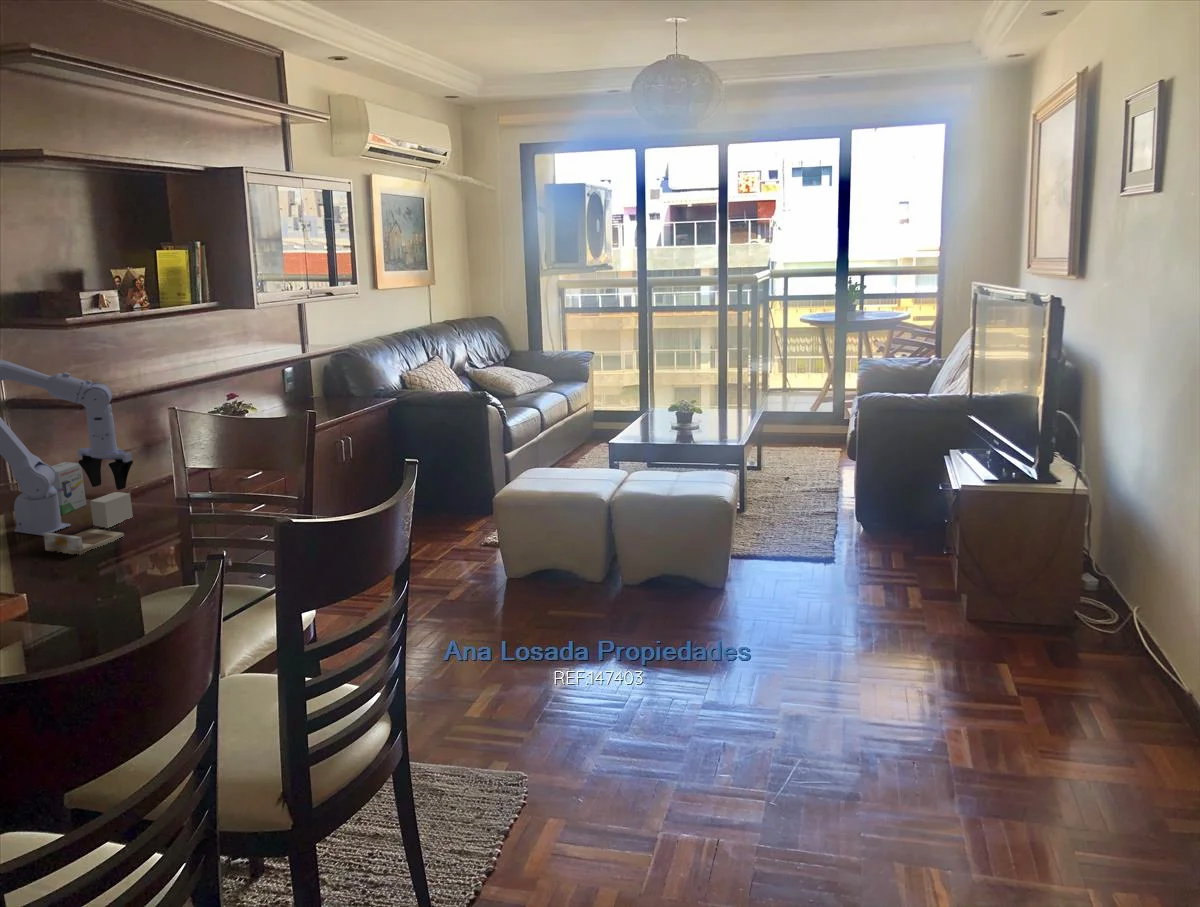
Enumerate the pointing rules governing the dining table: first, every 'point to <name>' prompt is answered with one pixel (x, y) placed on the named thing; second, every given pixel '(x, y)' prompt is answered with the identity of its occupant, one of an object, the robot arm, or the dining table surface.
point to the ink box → (69, 486)
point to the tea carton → (111, 509)
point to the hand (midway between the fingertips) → (109, 487)
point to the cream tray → (79, 541)
